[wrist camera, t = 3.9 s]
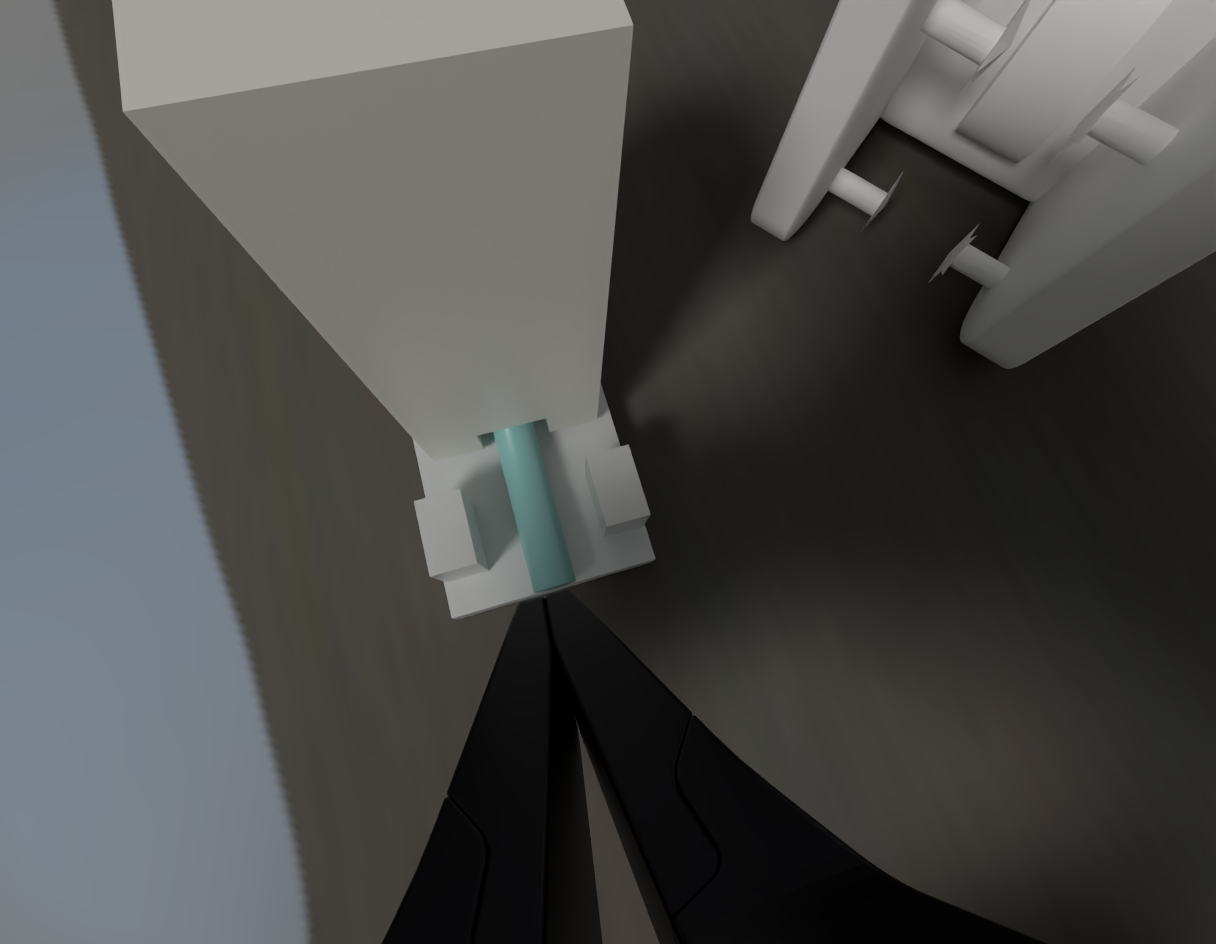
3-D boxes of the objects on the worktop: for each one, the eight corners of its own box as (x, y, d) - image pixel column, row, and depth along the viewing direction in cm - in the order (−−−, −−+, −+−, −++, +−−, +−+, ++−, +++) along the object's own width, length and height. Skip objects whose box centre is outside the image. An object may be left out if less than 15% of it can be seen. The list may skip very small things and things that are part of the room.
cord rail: (651, 562, 17) (679, 539, 13) (459, 619, 17) (410, 616, 12) (475, -8, 23) (448, -175, 18) (326, 14, 22) (258, -152, 18)
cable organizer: (906, 11, 24) (1187, -515, 13) (1132, 131, 23) (1653, -333, 12) (727, 251, 21) (906, -194, 9) (985, 408, 19) (1539, 114, 8)
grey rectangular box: (597, 419, 17) (632, 25, 6) (433, 461, 17) (122, 110, 5) (554, 280, 18) (517, -270, 7) (400, 315, 18) (90, -228, 6)
